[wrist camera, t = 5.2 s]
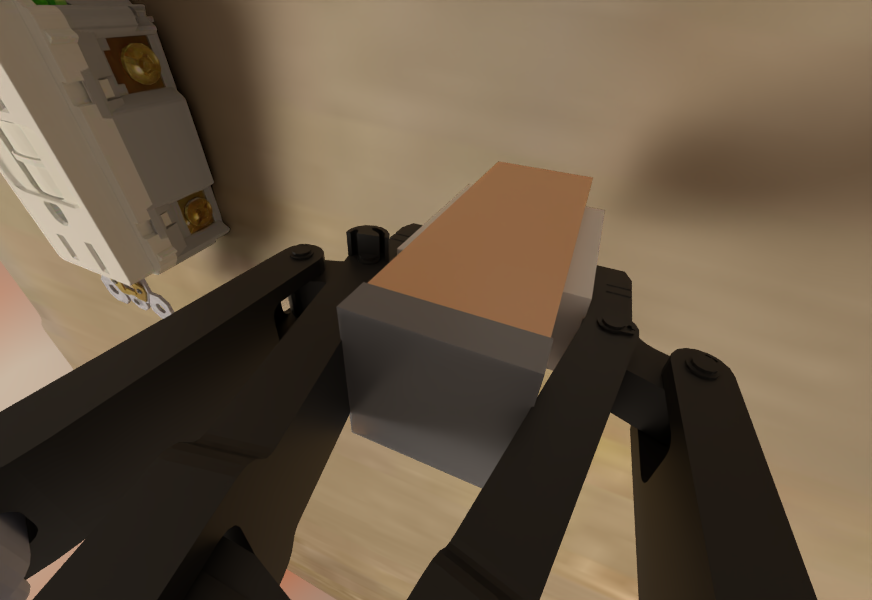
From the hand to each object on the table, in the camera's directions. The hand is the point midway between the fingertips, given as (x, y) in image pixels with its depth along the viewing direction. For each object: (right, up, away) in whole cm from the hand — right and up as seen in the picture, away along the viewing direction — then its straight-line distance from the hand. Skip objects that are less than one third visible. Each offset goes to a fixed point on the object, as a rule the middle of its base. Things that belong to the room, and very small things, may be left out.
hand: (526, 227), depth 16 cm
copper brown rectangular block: (+1, +1, +1) cm, 2 cm away
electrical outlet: (-27, +11, +16) cm, 33 cm away
